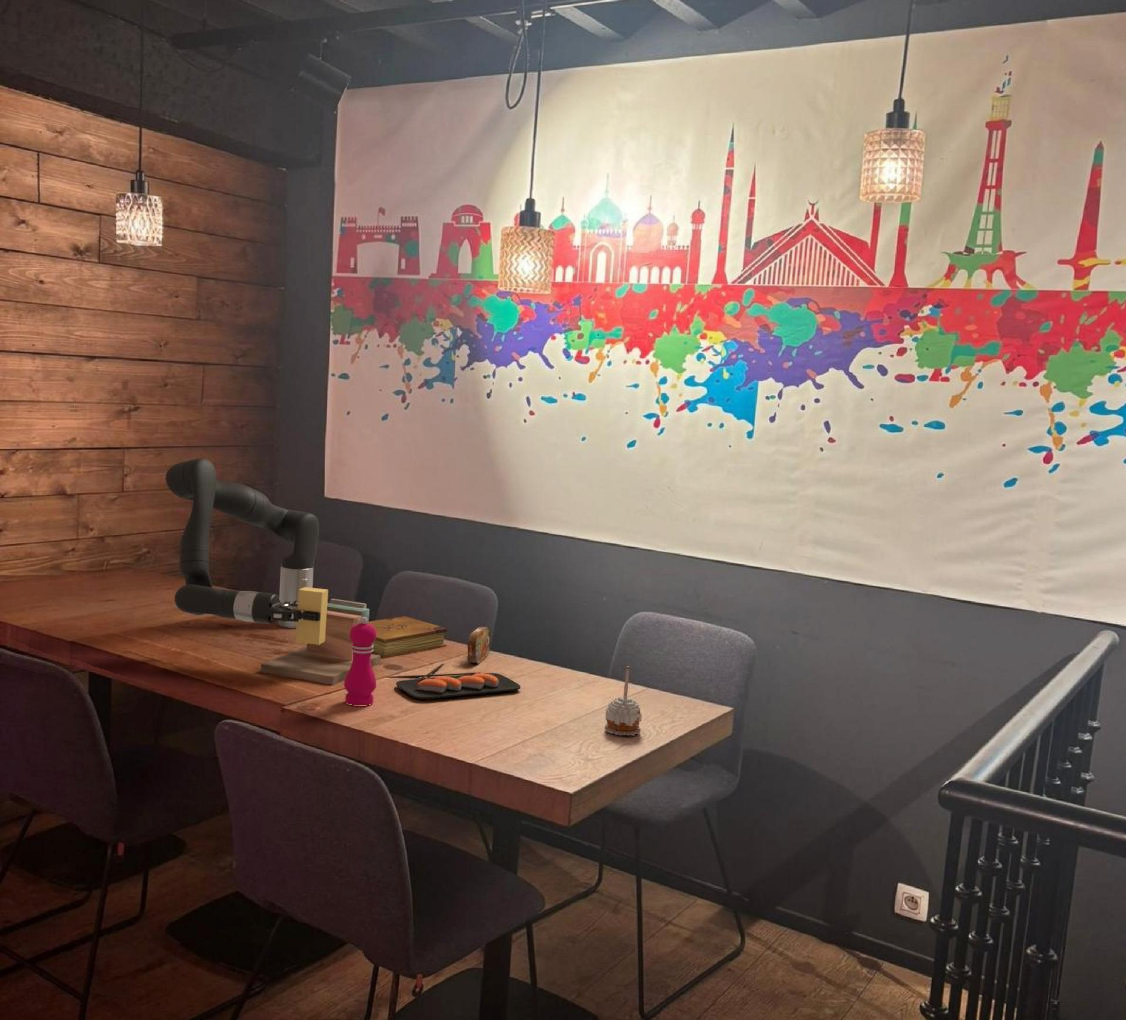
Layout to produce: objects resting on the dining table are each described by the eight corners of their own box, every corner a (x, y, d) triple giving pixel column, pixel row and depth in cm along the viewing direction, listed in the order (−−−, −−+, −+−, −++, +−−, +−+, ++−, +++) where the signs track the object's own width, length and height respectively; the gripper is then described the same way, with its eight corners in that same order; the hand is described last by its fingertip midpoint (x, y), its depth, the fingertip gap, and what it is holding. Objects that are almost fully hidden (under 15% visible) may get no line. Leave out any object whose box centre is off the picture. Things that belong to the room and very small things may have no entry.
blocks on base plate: (312, 651, 288) (315, 596, 286) (380, 662, 282) (383, 606, 280) (260, 672, 265) (263, 612, 263) (332, 684, 259) (336, 623, 257)
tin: (475, 667, 285) (477, 635, 284) (464, 665, 286) (466, 634, 285) (490, 654, 300) (492, 624, 299) (479, 652, 300) (481, 623, 299)
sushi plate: (415, 706, 250) (416, 689, 249) (367, 671, 275) (368, 656, 274) (525, 695, 265) (526, 680, 265) (469, 663, 290) (470, 649, 290)
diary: (401, 634, 316) (403, 615, 316) (446, 648, 305) (447, 628, 304) (338, 644, 299) (340, 624, 298) (383, 659, 287) (384, 638, 286)
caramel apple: (646, 735, 240) (652, 669, 238) (619, 739, 235) (625, 672, 233) (625, 724, 246) (630, 660, 244) (597, 729, 241) (603, 663, 240)
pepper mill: (347, 696, 251) (351, 612, 248) (378, 699, 250) (383, 614, 248) (339, 705, 243) (344, 618, 241) (371, 708, 243) (376, 621, 241)
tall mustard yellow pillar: (301, 638, 269) (304, 587, 268) (324, 641, 268) (328, 589, 267) (295, 641, 265) (298, 589, 264) (318, 644, 264) (322, 592, 263)
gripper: (245, 597, 260) (313, 605, 258) (269, 587, 274) (334, 594, 272) (243, 627, 261) (311, 636, 259) (267, 616, 275) (332, 624, 273)
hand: (322, 614), depth 266 cm, fingers closed on tall mustard yellow pillar, 4 cm apart
